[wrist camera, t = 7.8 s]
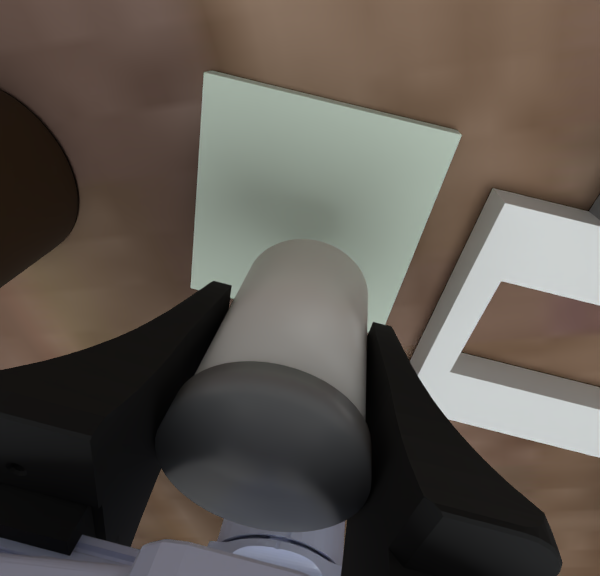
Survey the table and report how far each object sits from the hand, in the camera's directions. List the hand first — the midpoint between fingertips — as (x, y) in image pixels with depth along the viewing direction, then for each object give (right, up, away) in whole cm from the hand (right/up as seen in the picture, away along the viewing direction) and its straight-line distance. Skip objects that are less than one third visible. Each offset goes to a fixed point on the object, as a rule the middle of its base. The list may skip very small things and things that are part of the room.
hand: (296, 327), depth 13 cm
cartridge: (0, +1, +2) cm, 2 cm away
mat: (+1, +5, +7) cm, 9 cm away
